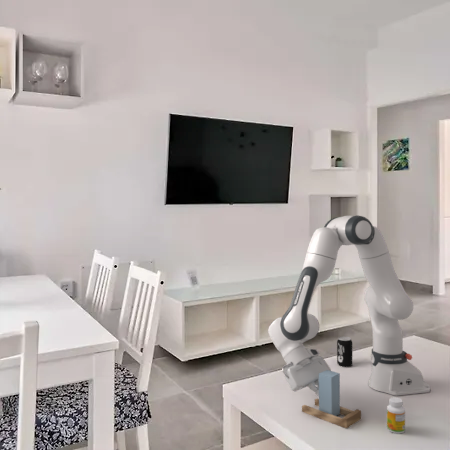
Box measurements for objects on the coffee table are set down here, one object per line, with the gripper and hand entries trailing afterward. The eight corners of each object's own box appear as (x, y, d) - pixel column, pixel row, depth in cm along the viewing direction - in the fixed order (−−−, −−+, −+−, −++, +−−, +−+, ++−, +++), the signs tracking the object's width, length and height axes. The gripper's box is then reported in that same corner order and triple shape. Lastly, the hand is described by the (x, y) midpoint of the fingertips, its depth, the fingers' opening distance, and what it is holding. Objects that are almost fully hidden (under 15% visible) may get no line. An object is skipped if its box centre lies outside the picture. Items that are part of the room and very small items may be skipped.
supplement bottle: (384, 426, 151) (384, 396, 151) (400, 425, 152) (400, 395, 151) (391, 434, 146) (391, 403, 145) (408, 433, 146) (408, 402, 146)
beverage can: (352, 367, 205) (352, 340, 204) (337, 367, 206) (337, 340, 206) (351, 362, 211) (351, 336, 211) (336, 362, 213) (336, 335, 212)
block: (319, 414, 160) (318, 373, 159) (327, 409, 163) (327, 369, 163) (331, 418, 156) (331, 377, 156) (339, 413, 160) (339, 373, 159)
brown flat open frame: (301, 411, 163) (301, 403, 162) (317, 403, 169) (317, 395, 169) (346, 428, 150) (346, 419, 150) (361, 419, 156) (361, 410, 156)
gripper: (285, 362, 160) (308, 398, 153) (320, 348, 174) (343, 381, 167) (275, 371, 163) (298, 407, 156) (310, 357, 177) (332, 390, 171)
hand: (321, 394), depth 162 cm, fingers closed, pressing on block
